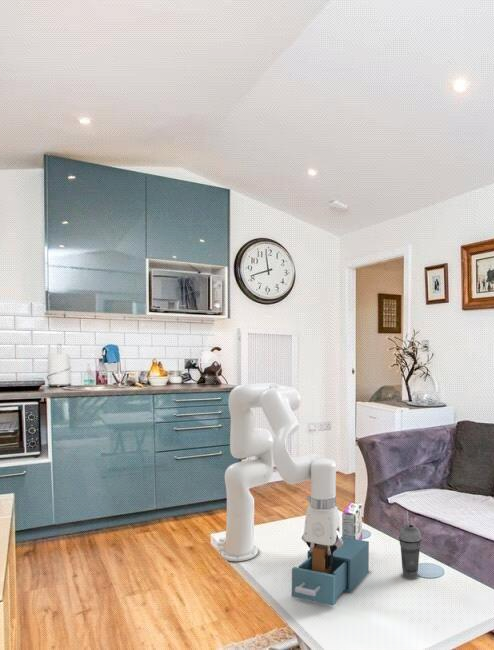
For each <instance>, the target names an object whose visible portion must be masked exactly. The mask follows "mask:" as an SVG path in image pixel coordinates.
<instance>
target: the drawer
mask: <svg viewBox="0 0 494 650" xmlns="http://www.w3.org/2000/svg"><path fill="white" fill-rule="evenodd" d="M347 586H348V562H347V561H342V560H337V559H333V564H332V574H327V573H322V572H317V571H312V561H311V556H310V557H309V558H308V557H307V559H306V560H304V561H303V562H301V564H299V565H298V567H297V566H293V567H292V568H291V597H292V598H298V599H300V600H301V599H302V600H306V601H309V602H314V603H317V604H321V605H322V604H323V605H327V606H332V607H334V606H335V604H336V599H338V597H339V596H340V595H341V594H342V593H343V592H344V590H345V589H346V587H347Z"/></svg>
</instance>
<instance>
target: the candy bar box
mask: <svg viewBox="0 0 494 650" xmlns="http://www.w3.org/2000/svg"><path fill="white" fill-rule="evenodd" d="M341 516H342V517H341V519H342V520H341V521H342V522H341V527H342V528H341V534H342V535H341V537H345V538H351V539H357V540H363V504H362V503H357V502H350V503H348V505H347V506H346V507H345V509H344V511H342V513H341Z"/></svg>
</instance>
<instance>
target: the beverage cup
mask: <svg viewBox="0 0 494 650" xmlns="http://www.w3.org/2000/svg"><path fill="white" fill-rule="evenodd" d="M405 513H406V514H405V515H406V525H405V526H403V527H402V528H401V530H400V532H399V536H398V541H399V546H400V556H401V568H402V569H401V570H402V577H403V578H404V579H406V580H415V579H417V578H418V573H419V562H420V549H421V545H422V535H421V532H420V530H419V528H418V527H416V526H415V525H413V524H410V521H409V520H410V519H409V511H408V510H405Z"/></svg>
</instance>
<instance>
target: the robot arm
mask: <svg viewBox="0 0 494 650" xmlns="http://www.w3.org/2000/svg"><path fill="white" fill-rule="evenodd" d="M227 400H228V401H227V402H228V411H229V416H230V432H229V433H230V435H229V436H230V437H229V450H230V455H231V456H232V457H233V458H234V459H246V460H243V461H237V462H235V463H232V464H230V465H228V467H227V468H226V470H225V472H224V484H225V490H226V518H225V519H226V521H225V537H222V536H221V537H219V539H218V541H217V546H219V547H222V549H221V551H220V558H221V559H223V560H225V561H228V562H243V561H248V560H250V559H253V558H255V557H256V556H257V555H258V553H259V548H258V547H257V545H255V544H254V543H255V498H254V496H253V495H252V493H251V491H250V489H252V488H255V487H260V486H263V485H266V484H268V483H269V482H270V481H271V480H272V477H273V475H274V466H275V468H276V470H277V472H278V474H279V476H280V478H281V479H282V480H283V481H284V482H285V483H286V484H288V485H296V484H300V483H303V482H308V481H310V495H308V496H307V497H306V500H307V501H308V502H309V505H308V506H307V508H306V513H305V520H304V529H303V534H302V536H301V540H302V541H303V542H304V543H305V544H306V546H307V547H308V548H309V550H310V551H311V552H312V548H313V547H314V546H316V545H317V544H321V545H326V549H327V554H326V555H325V568H326V569H328V568H329V567H330V566H331V565H332V564H333V552H334V551H335V550H336V549H338V548H340V547H342V546H343V545H344V542H343V540H342V538H341V537H342V535H341V523H340V522H341V521H340V513H339V508H338V506H336V505H337V503H336V502H337V464H336V461H335V460H333V459H331V458H324V457H323V456H321V455H320V454H316V453H310V454H305V455H299V456H295V457H292V455H291V454H290V452H289V451H290V450H289V449H288V445H287V440H288V439H289V438H290V437H292V436H293V435H294V434H295V433H296V432H297V431H298V429H299V427H300V422H299V420H298V418H297V417H296V415H295V413H294V412H295V411H297V410H298V409H299V408H300V406H301V403H302V398H301V395H300V393H299V391H298V390H297V389H296V388H295V387H293V386H288V385H285V384H281V383H277V382H258V383H243V384H240V385H236V386H235V387H234V388H232V389H231V391H230V393H229V395H228V399H227ZM253 408H254V409H255V408H261V410H262V412H263V414H264V416H265V418H266V420H267V422H268V424H269V426H270V429H271V430H272V432H273V434H274V438H273V435H272V433H271V432H270V431H269V430H268V429H267V428H264V427H259V428H256V417H255V413H253V410H252V409H253ZM253 457H254V458H253ZM247 458H253V459H249V460H247ZM336 541H337V544H335V545H334V543H335V542H336ZM311 561H312V556H311Z"/></svg>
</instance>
